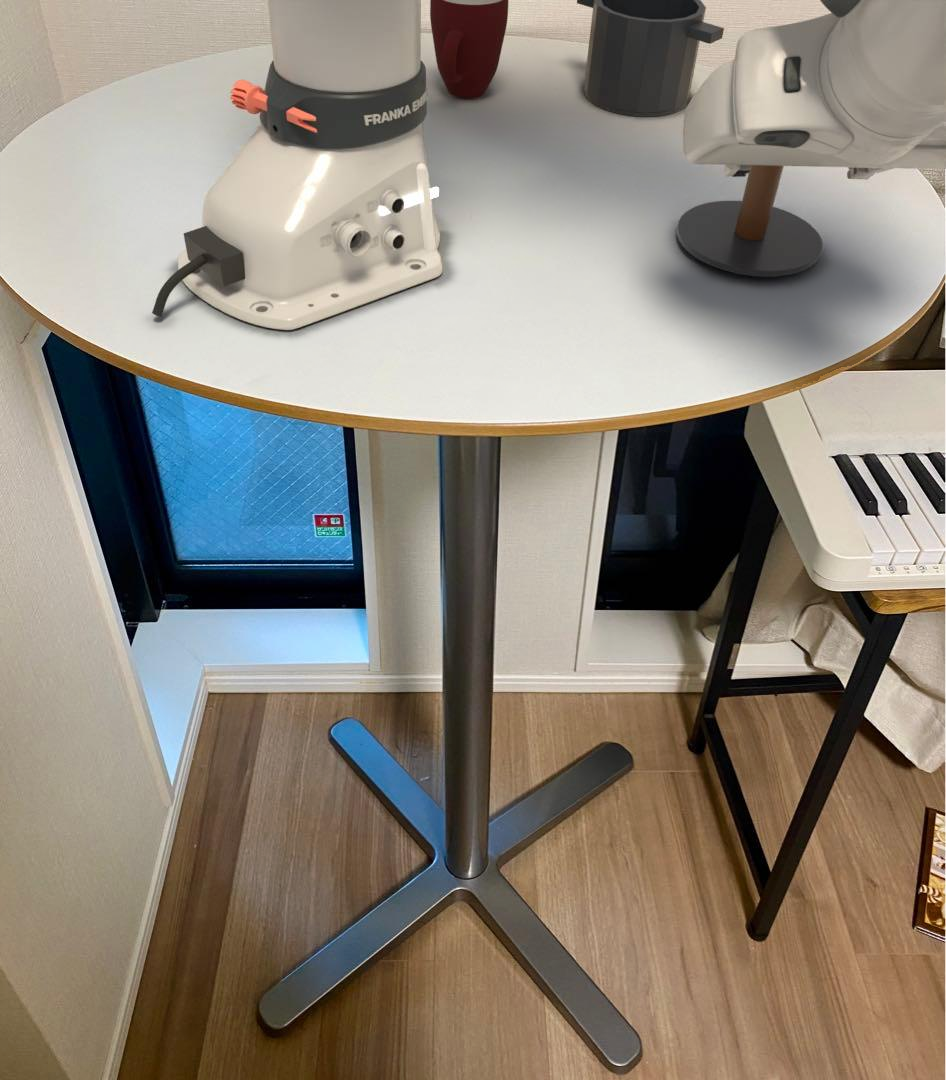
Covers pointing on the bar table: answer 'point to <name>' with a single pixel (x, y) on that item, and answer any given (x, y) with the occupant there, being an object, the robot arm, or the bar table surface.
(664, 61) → the dark grey pot
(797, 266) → the pot lid
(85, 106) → the bar table surface
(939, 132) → the robot arm
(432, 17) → the mug
